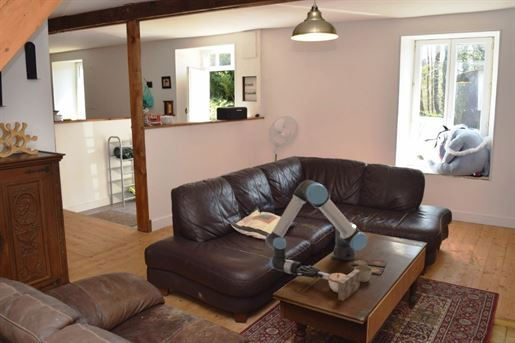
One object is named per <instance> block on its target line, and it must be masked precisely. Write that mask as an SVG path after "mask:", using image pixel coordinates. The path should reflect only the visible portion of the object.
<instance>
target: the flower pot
mask: <svg viewBox="0 0 515 343" xmlns="http://www.w3.org/2000/svg"><path fill="white" fill-rule="evenodd" d="M355 269H356V270H360V283H367V282H368V281H369V280H370V279H371V276H372V273H373V268H372V267H371V266H368V265H358V266H357V265H356V266H355V267H354V270H355Z"/></svg>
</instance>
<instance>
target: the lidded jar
mask: <svg viewBox="0 0 515 343" xmlns="http://www.w3.org/2000/svg"><path fill="white" fill-rule="evenodd" d="M329 274H330V275H329V276H328V278H329V279H328V285H329V287H330V288H331V290H332V291H333V292H335V293H338V281H340V280H341V279H343V278H344V277H345V276H347V275H348V274H344V273H342V272H335V273H334V272H333V273H329Z"/></svg>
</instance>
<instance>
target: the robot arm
mask: <svg viewBox="0 0 515 343" xmlns="http://www.w3.org/2000/svg"><path fill="white" fill-rule="evenodd" d="M330 196H331V195H330V193H328V190H327V188H326V187H325V186H324V185H323V184H321V183H319V182H316V181H314V180H312V179H311V180H310V179H305V180H304V181H301V183H299V184H298V186H297V187H296V189H295V190H294V192H293V193H292V198H291V200H290V201H289V203H288V204H287V206H286V208H285V209H284V212H283V213H282V215H281V216H280V217H279V220H278V221H277V223H276V225H275V226H274V228H273V230H272V231H271V232H270V233H268V234H267V235H266V236H265V243H266V244H267V246H268V247H269V248H271V250H272V251H273V255H272V256H271V257H270V259H269V267H270V268H271V269H273V270H275V271H281V272H284V273H287V274H292V275H295V276H298V277H306V278H311V279H314V278H315V279H319V278H321V279H324V280H329V278H328V276H329V275H330V274H331V273H327V272H323V271H321V269H319V268H317V267H314V266H312V265H311V264H309V265H308V266H306V265H303V264H302V263H301V262H299V261H295V260H290V259H287V242H286V239H285V237H284V236H285V235H286V233H287V231H288V229H289V228H290V226H291V224H292V223H293V221H294V220H295V218H296V216H297V215H298V213H299V211H300V210H301V208H302V207H303V205H304V204H306V203H307V202H309V203H310V204H311V206H313V208H315V209H319V211H321V212H322V214H323V215H324V216H325V217H326V218H327V219H328V221H330V223H331V224H332V225H333V226H334V227H335V246H334V249H333V252H332V258H333V259H335V260H338V261H344V262H345V261H354V260H356V258H357V252H356V251H361V250H363V249H364V248H365V247H366V245H367V243H368V237H367V235H366V234H365V233H364V232H362V231H361V230H360V229H359V227H357V226H356V224H355V223H353V222H350V221H349V219H347V217H346V216H345V215H344V214H343V213H342V212H341V211H340V210H339V208H338V207H337V206H336V205H335V204H334V202H333V201H332V200H331V197H330Z"/></svg>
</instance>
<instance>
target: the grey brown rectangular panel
mask: <svg viewBox="0 0 515 343" xmlns="http://www.w3.org/2000/svg"><path fill="white" fill-rule="evenodd" d="M346 275H347V276H345V277H344V278H343V279H341V280H340V281H338V292H337V300H339V301H343V302H344V301H345V300H346V299H348V298H349V297H350V296H351V295H353V294H354V293H355V292H357V290H359V289H360V288H361V281H360V270H356V269H355V268H354V270H352V271H351V272H350V273H348V274H346Z"/></svg>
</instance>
